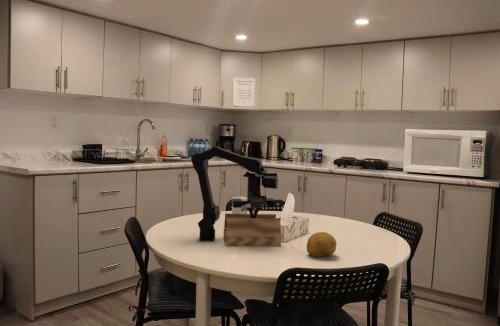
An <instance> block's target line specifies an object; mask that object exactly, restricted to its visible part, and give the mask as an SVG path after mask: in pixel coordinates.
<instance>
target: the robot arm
mask: <svg viewBox="0 0 500 326" xmlns="http://www.w3.org/2000/svg"><path fill="white" fill-rule="evenodd" d="M215 157H218V158H221V159H224V160H227V161H229V162H231V163H235V164H237V165H239V166H241V167H242V168H244V169H245V170H247V171H245V173H244V174H243V175H242V177H244V178H247V188H246V189H247V191H246V193H247V195H246V197H247V201H242V200H241V199H233V200H232V199H231V206H233V208H241V207H242V205H245V208H246V209H247V212H248V214H250V216H251V218H256V216H257V214H259V212H260V211H261V210H262V209H264V207H263V206H264V205H265V206H267V207H268V208H276V205H277V203H276V201H275V199H274V198H272V197H268V198H267V195H261V193H262V192H261V191H262V190H261V188H262V187H263V189H271V190H272V189H273V190H274V189H276V190H277V189H278V186H279V177H278V172H267V171H266V170H265V168H264V166H263V162H262V160H261V159H259V158H256V157H252V156H246V155H244V156H243V155H241V154H238V153H236V152H233V151H230V150H227V149H225V148H222V147H220V146H212V147H211V148H209V149H207V150H205V151H202V152H198V153H197V152H195V153H194V154H193V155H192V156H191V159H190V162H191V164H192V167H193V169H194V170H195V172H196V174H197V177H198V178H197V179H198V184H199V188H200V192H201V198H202V202H203V207H202V219H201V220H200V221H199V222H197V225H198V228H199V236H198V239H199V242H214V241H215V240H216V228H215V226H214V225H215V224H216V222H217V221H219V219H220V215H221V211H220V206H219V205H216V204H215V202H214V198H213V193H212V187H211V183H210V178H209V173H208V170H209V161H210V160H211V159H213V158H215ZM261 186H262V187H261Z"/></svg>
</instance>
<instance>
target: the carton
mask: <svg viewBox="0 0 500 326" xmlns="http://www.w3.org/2000/svg"><path fill="white" fill-rule="evenodd" d="M223 240H224V243H225V247H281V246H282V245H281V244H282V236H281V237H227V228H223Z"/></svg>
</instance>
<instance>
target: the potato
mask: <svg viewBox="0 0 500 326" xmlns="http://www.w3.org/2000/svg"><path fill="white" fill-rule="evenodd" d="M336 250H337V241H336V239H335V237H334V236H333V235H332V234H331V233H328V232H323V231H321V232H320V231H319V232H315V233H313V234H311V235H310V236H309V238H308V239H307V243H306V252H307V253H308V254H309V255H310V256H313V257H320V256H321V257H330V256H332V255H333V254H335V252H336Z"/></svg>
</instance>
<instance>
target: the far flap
mask: <svg viewBox="0 0 500 326" xmlns="http://www.w3.org/2000/svg"><path fill="white" fill-rule="evenodd" d="M227 218H251V216H250V213H247V214H236V213H232V212H231V213H226V212H225V213H224V223H223V229H227ZM256 218H277V214H276V213H258V214H257V216H256Z"/></svg>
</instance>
